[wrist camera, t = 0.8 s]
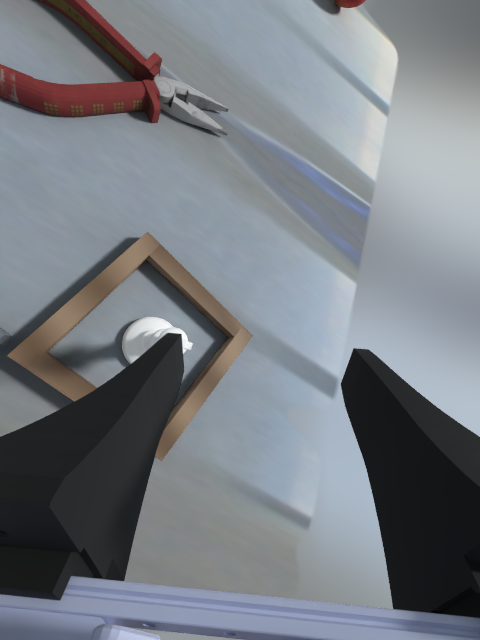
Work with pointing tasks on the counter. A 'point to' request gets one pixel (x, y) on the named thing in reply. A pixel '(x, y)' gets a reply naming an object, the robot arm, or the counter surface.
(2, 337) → the tray
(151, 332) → the chess piece
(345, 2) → the onion
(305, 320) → the counter surface
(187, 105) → the pliers
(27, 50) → the counter surface
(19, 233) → the counter surface
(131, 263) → the brown square frame
